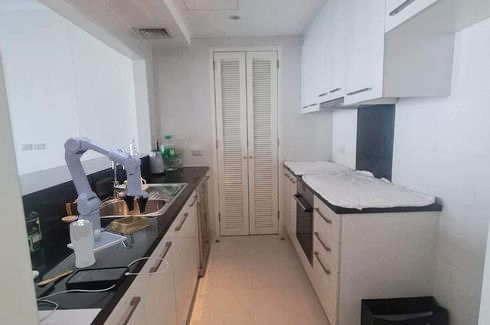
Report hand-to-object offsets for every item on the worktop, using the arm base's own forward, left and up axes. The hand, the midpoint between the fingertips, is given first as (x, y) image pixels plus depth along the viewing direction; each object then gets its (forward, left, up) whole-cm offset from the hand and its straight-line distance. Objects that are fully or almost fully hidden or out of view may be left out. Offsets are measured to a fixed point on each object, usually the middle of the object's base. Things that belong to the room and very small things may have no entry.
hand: (136, 211), depth 126 cm
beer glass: (+12, -31, -9) cm, 34 cm away
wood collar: (-5, 0, -9) cm, 10 cm away
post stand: (-2, -18, -9) cm, 20 cm away
